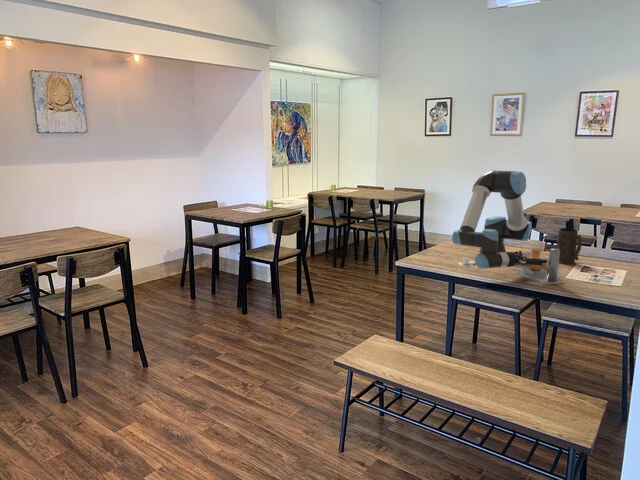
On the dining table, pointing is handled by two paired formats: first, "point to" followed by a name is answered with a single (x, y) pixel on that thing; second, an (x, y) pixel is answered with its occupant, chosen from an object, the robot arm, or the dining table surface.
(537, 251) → the orange cylinder
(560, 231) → the beer stein
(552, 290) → the dining table surface
